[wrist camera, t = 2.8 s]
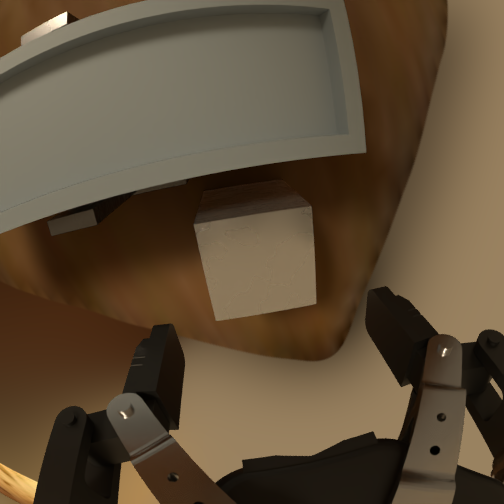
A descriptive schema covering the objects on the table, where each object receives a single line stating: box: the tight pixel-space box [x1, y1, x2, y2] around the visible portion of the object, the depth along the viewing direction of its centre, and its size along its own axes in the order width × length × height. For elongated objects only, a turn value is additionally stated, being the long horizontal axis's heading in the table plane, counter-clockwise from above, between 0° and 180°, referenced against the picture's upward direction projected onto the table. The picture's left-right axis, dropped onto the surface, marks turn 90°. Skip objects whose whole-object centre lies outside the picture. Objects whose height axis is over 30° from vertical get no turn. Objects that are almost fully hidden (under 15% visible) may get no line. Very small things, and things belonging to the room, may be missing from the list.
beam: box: [0, 0, 366, 233], centre depth 11 cm, size 9×30×3 cm, turn 98°
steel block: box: [194, 179, 316, 321], centre depth 19 cm, size 6×6×8 cm
